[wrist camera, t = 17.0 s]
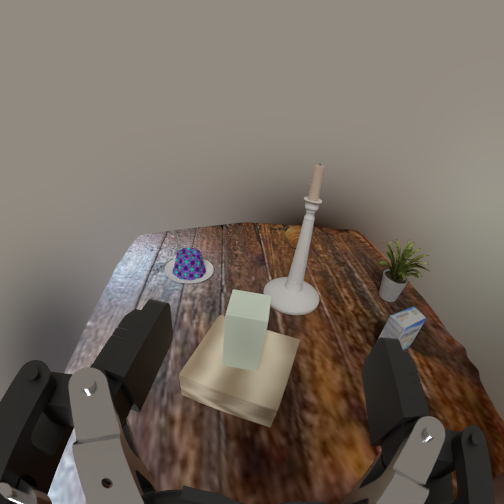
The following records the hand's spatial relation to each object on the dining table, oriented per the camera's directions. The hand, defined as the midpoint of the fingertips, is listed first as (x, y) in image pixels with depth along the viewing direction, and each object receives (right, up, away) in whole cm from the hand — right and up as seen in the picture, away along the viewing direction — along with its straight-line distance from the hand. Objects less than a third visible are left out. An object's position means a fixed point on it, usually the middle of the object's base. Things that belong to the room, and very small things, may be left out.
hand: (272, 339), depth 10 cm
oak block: (-3, -17, +31) cm, 36 cm away
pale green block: (-2, -12, +29) cm, 31 cm away
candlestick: (+8, -7, +52) cm, 53 cm away
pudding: (-16, -2, +56) cm, 58 cm away
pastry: (+13, +6, +77) cm, 78 cm away
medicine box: (+28, -17, +39) cm, 51 cm away
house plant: (+33, -9, +55) cm, 65 cm away
